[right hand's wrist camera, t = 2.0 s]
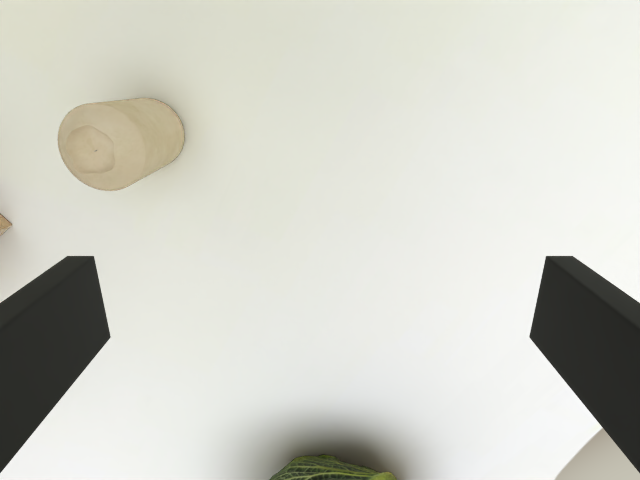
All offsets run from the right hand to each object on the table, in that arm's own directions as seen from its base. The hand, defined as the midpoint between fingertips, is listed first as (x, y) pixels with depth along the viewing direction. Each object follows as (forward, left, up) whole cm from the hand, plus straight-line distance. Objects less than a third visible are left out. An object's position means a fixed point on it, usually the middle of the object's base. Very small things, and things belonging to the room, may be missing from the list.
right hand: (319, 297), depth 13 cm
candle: (-7, -12, -25) cm, 28 cm away
